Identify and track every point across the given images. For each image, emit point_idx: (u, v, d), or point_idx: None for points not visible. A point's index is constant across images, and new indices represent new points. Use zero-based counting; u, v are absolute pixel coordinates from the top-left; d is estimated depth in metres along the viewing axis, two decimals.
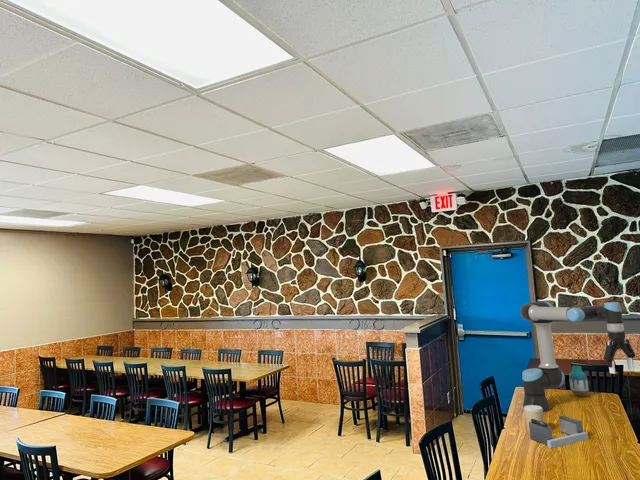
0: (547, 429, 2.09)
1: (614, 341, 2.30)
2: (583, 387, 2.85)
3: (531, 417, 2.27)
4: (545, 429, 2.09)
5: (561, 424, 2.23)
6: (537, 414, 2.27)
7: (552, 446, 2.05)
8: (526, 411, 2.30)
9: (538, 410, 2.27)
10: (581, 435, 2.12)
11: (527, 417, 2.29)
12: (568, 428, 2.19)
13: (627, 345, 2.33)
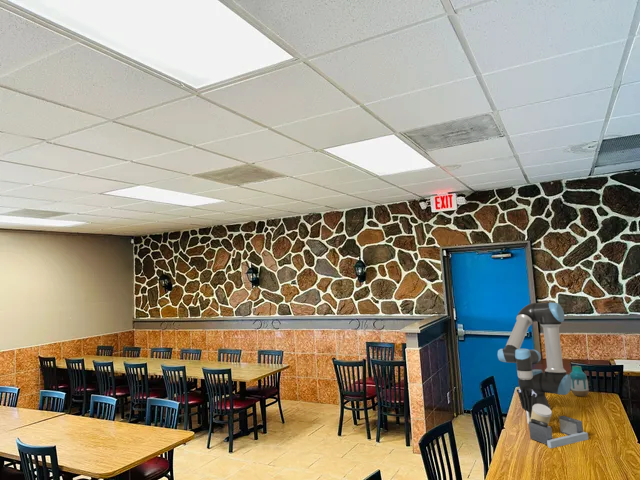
0: (547, 429, 2.09)
1: None
2: (583, 387, 2.85)
3: (538, 419, 2.23)
4: (545, 429, 2.09)
5: (561, 424, 2.23)
6: (545, 418, 2.22)
7: (552, 446, 2.05)
8: (534, 412, 2.24)
9: (547, 415, 2.21)
10: (581, 435, 2.12)
11: (533, 417, 2.25)
12: (568, 428, 2.19)
13: None
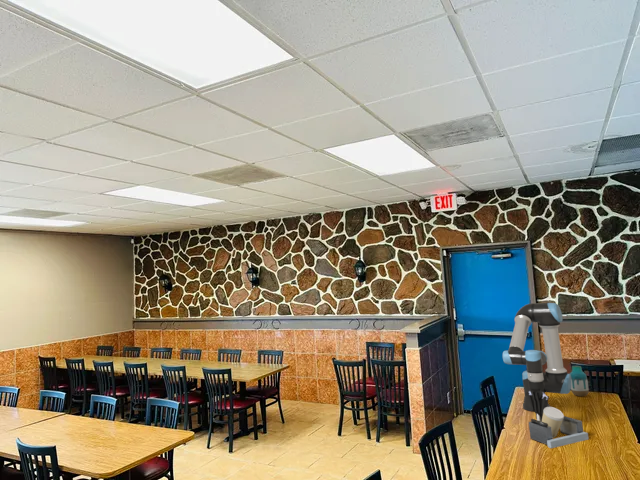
0: (547, 429, 2.09)
1: (530, 389, 2.31)
2: (583, 387, 2.85)
3: (550, 423, 2.17)
4: (545, 429, 2.09)
5: (561, 424, 2.23)
6: (557, 422, 2.15)
7: (552, 446, 2.05)
8: (546, 416, 2.17)
9: (560, 419, 2.15)
10: (581, 435, 2.12)
11: (545, 421, 2.19)
12: (568, 428, 2.19)
13: None
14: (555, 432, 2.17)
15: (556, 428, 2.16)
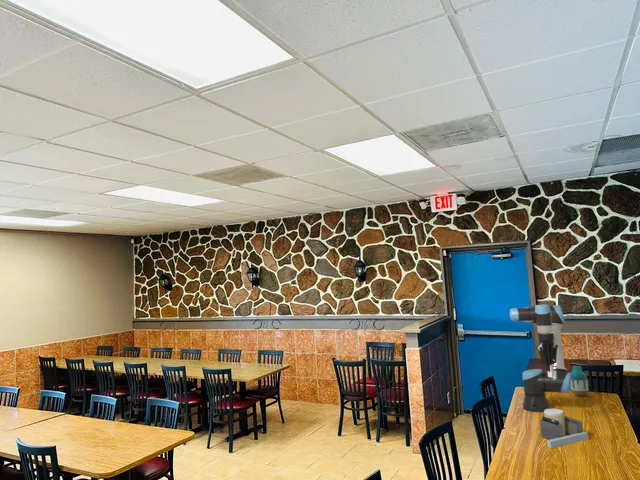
0: (558, 426, 2.11)
1: (542, 343, 2.35)
2: (583, 387, 2.85)
3: None
4: (556, 426, 2.11)
5: None
6: (559, 418, 2.18)
7: (552, 446, 2.05)
8: (547, 415, 2.21)
9: (560, 414, 2.18)
10: (581, 435, 2.12)
11: None
12: (568, 428, 2.19)
13: (554, 350, 2.38)
14: None
15: None
